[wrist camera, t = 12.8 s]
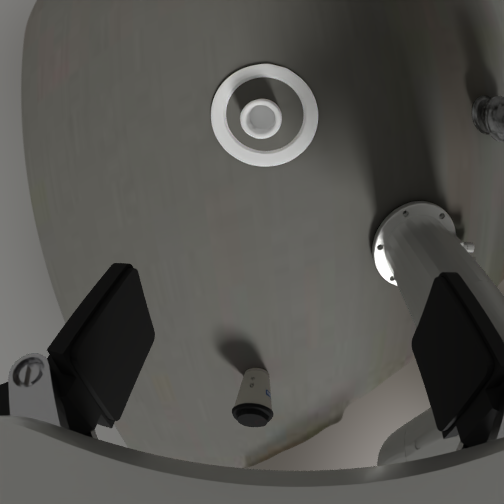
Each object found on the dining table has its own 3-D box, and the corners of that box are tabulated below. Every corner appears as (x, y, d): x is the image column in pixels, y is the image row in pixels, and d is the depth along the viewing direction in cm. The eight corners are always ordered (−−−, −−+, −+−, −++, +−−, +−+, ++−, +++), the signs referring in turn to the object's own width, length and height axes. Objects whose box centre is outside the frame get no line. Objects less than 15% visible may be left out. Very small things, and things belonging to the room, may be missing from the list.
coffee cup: (233, 380, 55) (226, 424, 47) (243, 359, 52) (236, 406, 43) (268, 389, 56) (265, 432, 47) (281, 369, 52) (279, 415, 44)
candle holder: (275, 45, 28) (274, 39, 24) (337, 129, 32) (344, 134, 29) (192, 106, 32) (180, 108, 29) (253, 183, 37) (250, 195, 33)
